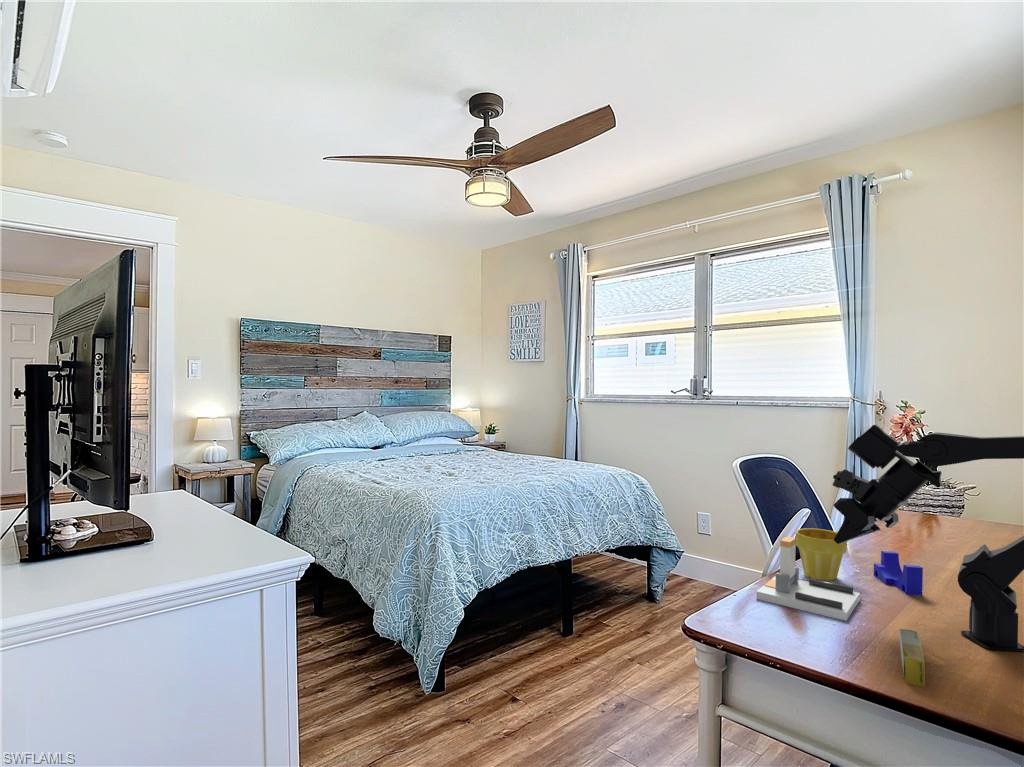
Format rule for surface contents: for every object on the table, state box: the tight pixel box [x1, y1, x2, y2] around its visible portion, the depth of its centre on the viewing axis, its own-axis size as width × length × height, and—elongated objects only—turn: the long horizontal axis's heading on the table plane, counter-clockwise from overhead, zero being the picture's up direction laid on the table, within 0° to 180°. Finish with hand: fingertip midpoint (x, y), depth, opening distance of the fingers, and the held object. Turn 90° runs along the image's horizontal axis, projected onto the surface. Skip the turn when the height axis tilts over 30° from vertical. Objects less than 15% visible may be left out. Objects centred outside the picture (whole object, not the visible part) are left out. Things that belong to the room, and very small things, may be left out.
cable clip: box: [873, 550, 924, 597], centre depth 127 cm, size 12×4×6 cm, turn 170°
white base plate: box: [755, 566, 861, 622], centre depth 117 cm, size 16×14×5 cm
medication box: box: [899, 628, 926, 688], centre depth 89 cm, size 12×3×4 cm, turn 149°
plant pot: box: [795, 527, 848, 582], centre depth 132 cm, size 10×10×10 cm
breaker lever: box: [779, 536, 797, 584], centre depth 119 cm, size 2×5×9 cm, turn 140°
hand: (836, 541), depth 114 cm, fingers closed
